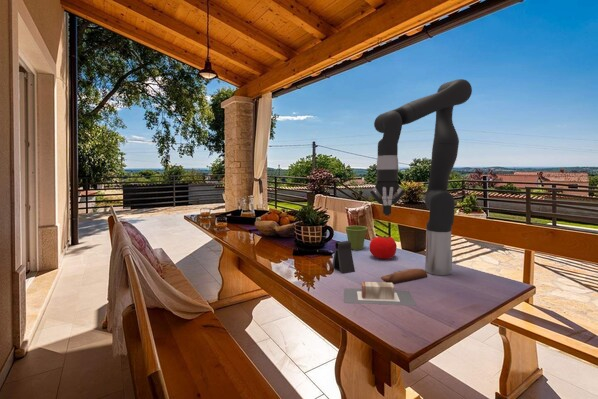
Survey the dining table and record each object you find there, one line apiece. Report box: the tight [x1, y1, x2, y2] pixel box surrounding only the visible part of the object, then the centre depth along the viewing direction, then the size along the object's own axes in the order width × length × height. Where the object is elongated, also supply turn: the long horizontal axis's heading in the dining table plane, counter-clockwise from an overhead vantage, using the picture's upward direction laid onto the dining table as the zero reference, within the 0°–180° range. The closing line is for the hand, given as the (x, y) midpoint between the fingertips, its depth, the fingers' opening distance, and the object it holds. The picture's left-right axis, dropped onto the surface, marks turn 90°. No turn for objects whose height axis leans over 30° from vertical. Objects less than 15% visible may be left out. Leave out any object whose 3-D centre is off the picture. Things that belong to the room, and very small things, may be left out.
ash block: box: [361, 281, 396, 299], centre depth 103 cm, size 4×4×10 cm
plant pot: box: [344, 225, 368, 251], centre depth 166 cm, size 12×12×11 cm
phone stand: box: [331, 240, 356, 274], centre depth 133 cm, size 9×6×12 cm, turn 21°
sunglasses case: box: [380, 268, 428, 285], centre depth 120 cm, size 18×7×7 cm
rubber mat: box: [343, 287, 418, 307], centre depth 103 cm, size 22×12×1 cm, turn 82°
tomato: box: [368, 235, 398, 260], centre depth 149 cm, size 13×12×11 cm
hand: (386, 215), depth 117 cm, fingers closed
